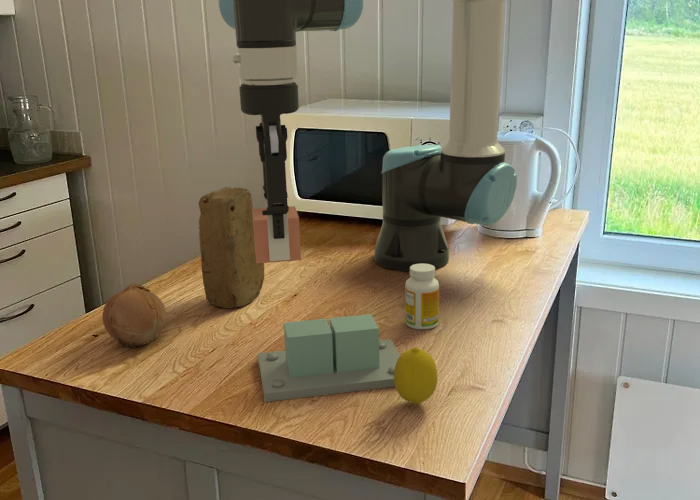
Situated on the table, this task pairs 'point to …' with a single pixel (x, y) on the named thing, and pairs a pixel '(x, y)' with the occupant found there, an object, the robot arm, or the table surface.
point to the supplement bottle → (422, 297)
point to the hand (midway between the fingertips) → (278, 251)
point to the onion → (134, 316)
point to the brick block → (262, 235)
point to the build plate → (326, 381)
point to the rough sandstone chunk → (229, 248)
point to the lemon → (415, 375)
